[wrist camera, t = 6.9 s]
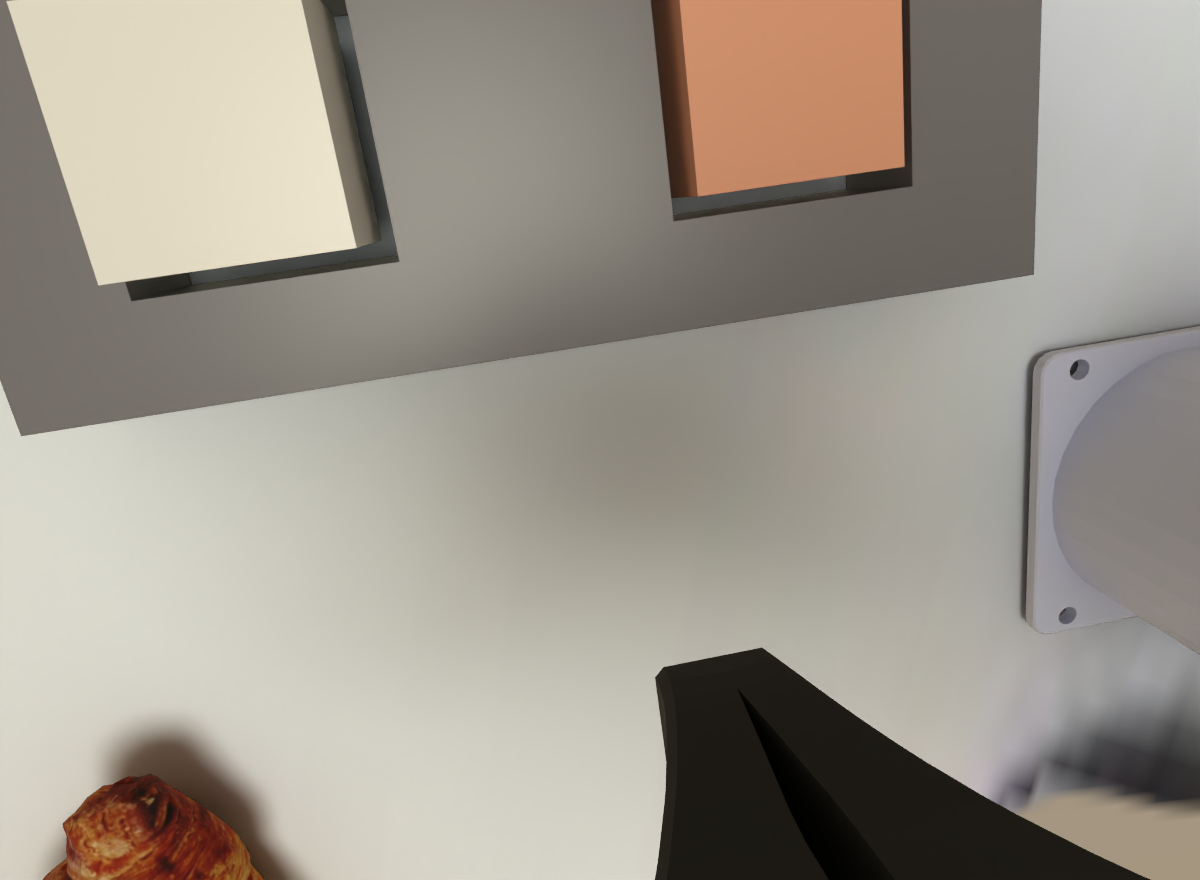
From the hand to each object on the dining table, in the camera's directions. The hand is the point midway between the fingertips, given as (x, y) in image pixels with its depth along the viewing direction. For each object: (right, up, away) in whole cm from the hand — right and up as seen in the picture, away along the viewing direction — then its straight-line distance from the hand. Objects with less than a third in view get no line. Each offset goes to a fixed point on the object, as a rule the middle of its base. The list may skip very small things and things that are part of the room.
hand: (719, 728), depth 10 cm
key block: (-3, +10, +7) cm, 13 cm away
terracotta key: (+2, +11, +7) cm, 13 cm away
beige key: (-8, +9, +5) cm, 13 cm away
